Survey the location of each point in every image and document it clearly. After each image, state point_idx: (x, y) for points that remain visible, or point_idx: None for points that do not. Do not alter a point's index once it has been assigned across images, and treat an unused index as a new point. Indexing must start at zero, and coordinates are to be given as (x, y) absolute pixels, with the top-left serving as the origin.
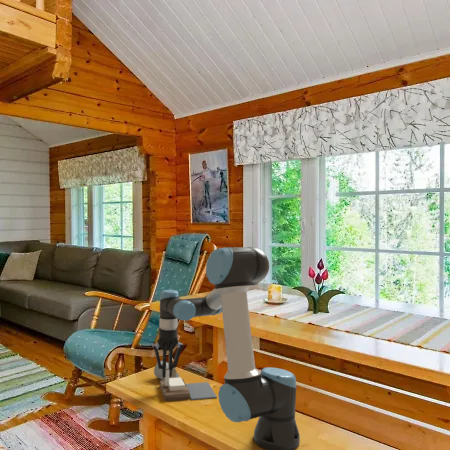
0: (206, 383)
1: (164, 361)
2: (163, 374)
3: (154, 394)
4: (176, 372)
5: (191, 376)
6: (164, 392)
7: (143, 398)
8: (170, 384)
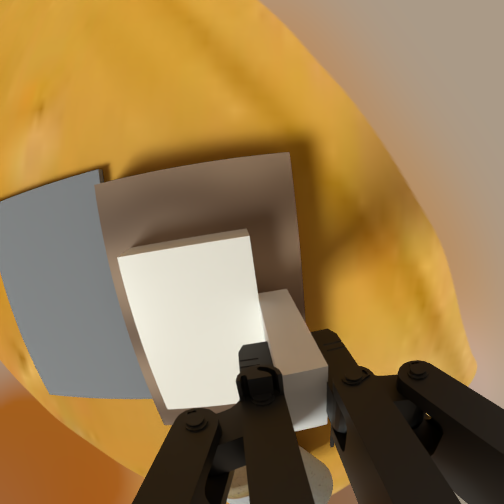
0: (50, 382)
1: (403, 450)
2: (335, 344)
3: (342, 273)
4: None
5: (142, 464)
6: (292, 203)
7: (403, 217)
8: (246, 278)
